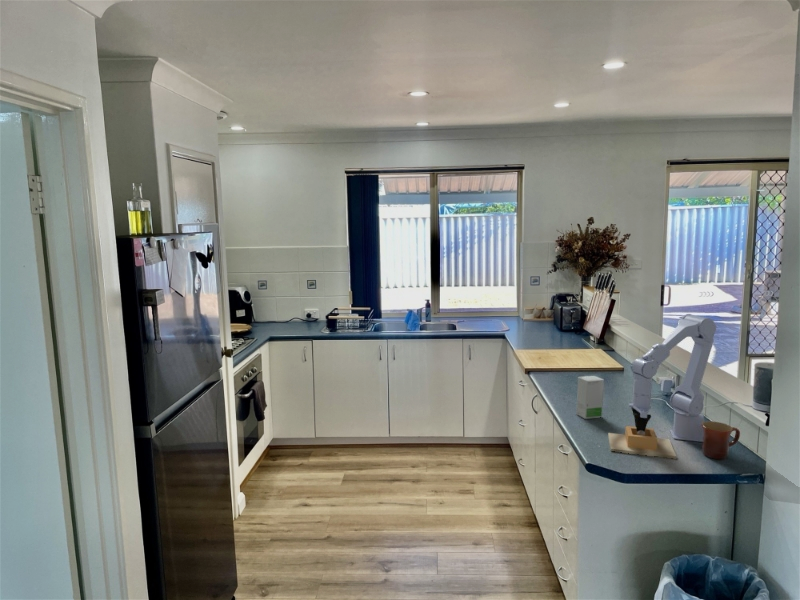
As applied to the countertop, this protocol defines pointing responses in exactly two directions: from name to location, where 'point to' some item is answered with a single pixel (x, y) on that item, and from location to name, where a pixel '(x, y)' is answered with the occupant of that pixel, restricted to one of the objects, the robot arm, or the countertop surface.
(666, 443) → the plate
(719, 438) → the mug
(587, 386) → the skincare box
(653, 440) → the wooden open tray
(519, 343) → the countertop surface
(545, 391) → the countertop surface
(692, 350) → the robot arm
